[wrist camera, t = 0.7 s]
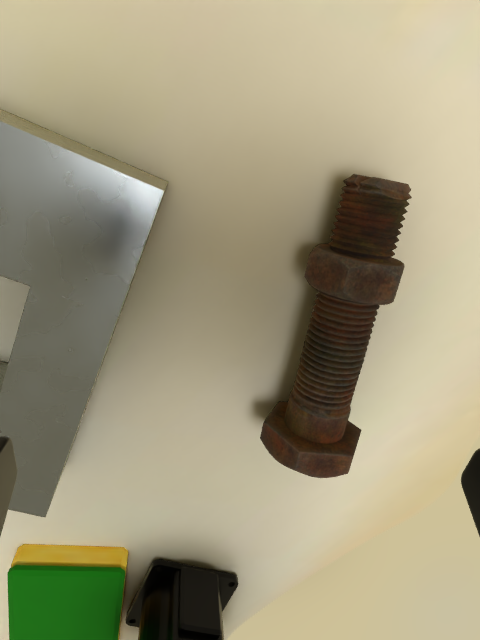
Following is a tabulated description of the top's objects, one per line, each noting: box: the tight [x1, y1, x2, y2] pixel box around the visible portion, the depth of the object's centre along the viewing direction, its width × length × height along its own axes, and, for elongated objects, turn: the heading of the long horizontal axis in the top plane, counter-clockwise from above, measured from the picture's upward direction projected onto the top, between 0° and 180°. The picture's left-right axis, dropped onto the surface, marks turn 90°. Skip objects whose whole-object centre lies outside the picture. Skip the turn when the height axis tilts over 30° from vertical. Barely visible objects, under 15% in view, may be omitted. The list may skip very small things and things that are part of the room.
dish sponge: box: [8, 544, 128, 640], centre depth 31 cm, size 7×14×2 cm, turn 170°
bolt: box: [260, 174, 412, 478], centre depth 23 cm, size 6×5×15 cm
